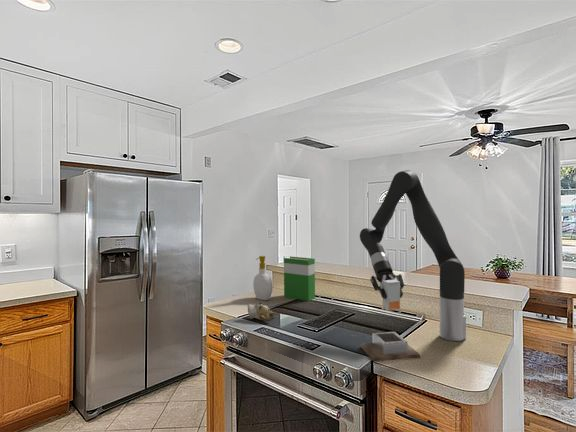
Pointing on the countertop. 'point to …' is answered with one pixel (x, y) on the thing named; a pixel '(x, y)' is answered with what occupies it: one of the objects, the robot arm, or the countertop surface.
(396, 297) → the skincare box
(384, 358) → the walnut board
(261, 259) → the soap bottle
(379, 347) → the steel slot collar
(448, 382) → the countertop surface
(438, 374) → the countertop surface
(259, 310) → the ceramic sculpture
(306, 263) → the green cereal box
